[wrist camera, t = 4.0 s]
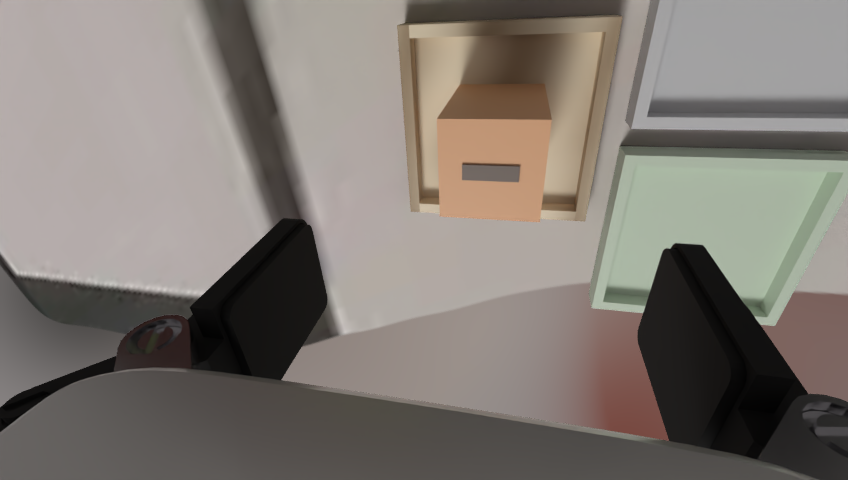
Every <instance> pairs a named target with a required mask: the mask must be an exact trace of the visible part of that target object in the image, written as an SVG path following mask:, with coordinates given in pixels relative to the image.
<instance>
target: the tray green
mask: <svg viewBox="0 0 848 480" xmlns="http://www.w3.org/2000/svg"><path fill="white" fill-rule="evenodd" d="M847 193H848V152H846V151H838V150H789V149H740V148H691V147H643V146H620V148H619V153H618V158H617V162H616V167H615V172H614V177H613V181H612V186H611V191H610V195H609V200H608V205H607V210H606V214H605V219H604V224H603V229H602V233H601V238H600V243H599V248H598V252H597V257H596V262H595V266H594V271H593V276H592V281H591V286H590V290H589V297H590V302H591V307H592V308H597V309H607V310H617V311H628V312H638V313H643V312H644V309H645V306H646V303H647V300H648V296H649V293H650V290H651V287H652V283H653V280H654V277H655V274H656V271H657V267H658V264H659V261H660V258H661V255H662V252H663V250H664V249H665V248H669V249H671V247H672V246H673V244H675V243H683V244H699V245H703V246H704V247H705V248H706V249H707V251H708V252H709V254H710V255H711V257H712V258H713V260H714V261H715V262H716V264H717V265H718V267H719V268H720V270H721V271H722V273H723V274H724V275H725V277H726V278H727V280H728V281H729V283H730V284H731V286H732V287H733V288H734V290H735V291H736V293H737V294H738V296H739V297H740V299H741V300H742V301H743V303H744V304H745V305H746V306H747V307H748V308H749V310H750V311H751V312H752V314H753V315H754V317H755V318H756V320H757V321H758V322H759V324H761V325H771V326H775V325H776V323H777V321H778V319H779V317H780V315H781V314H782V312H783V310H784V308H785V306H786V304H787V303H788V301H789V299H790V297H791V295H792V294H793V292H794V290H795V288H796V286H797V284H798V283H799V281H800V279H801V277H802V275H803V273H804V272H805V270H806V268H807V266H808V264H809V263H810V261H811V259H812V257H813V255H814V253H815V252H816V250H817V248H818V246H819V244H820V242H821V241H822V239H823V237H824V235H825V233H826V232H827V230H828V228H829V226H830V224H831V222H832V221H833V219H834V217H835V215H836V213H837V211H838V210H839V208H840V206H841V204H842V202H843V200H844V199H845V197H846V195H847Z"/></svg>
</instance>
